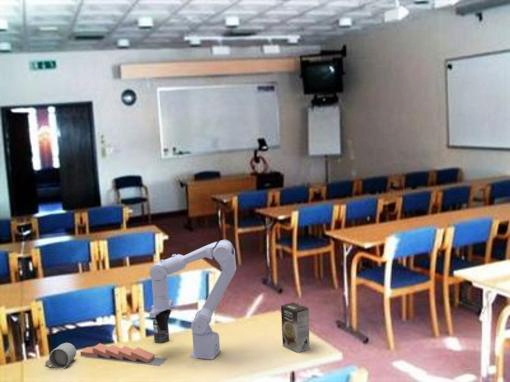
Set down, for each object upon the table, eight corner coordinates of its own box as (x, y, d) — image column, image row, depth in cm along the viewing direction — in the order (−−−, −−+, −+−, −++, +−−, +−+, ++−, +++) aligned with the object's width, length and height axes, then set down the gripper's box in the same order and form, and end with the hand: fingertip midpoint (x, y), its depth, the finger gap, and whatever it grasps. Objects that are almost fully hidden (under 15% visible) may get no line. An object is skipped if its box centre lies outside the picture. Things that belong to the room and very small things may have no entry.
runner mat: (168, 359, 214) (167, 358, 214) (159, 366, 208) (159, 365, 208) (94, 351, 225) (94, 350, 225) (84, 358, 219) (84, 357, 219)
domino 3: (129, 351, 218) (112, 344, 220) (122, 356, 214) (105, 349, 216) (128, 355, 218) (111, 348, 220) (122, 360, 214) (105, 353, 216)
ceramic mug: (78, 359, 218) (76, 339, 217) (69, 369, 210) (67, 348, 209) (51, 360, 219) (49, 340, 218) (41, 369, 211) (39, 349, 210)
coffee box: (281, 346, 220) (280, 305, 218) (294, 341, 224) (293, 301, 222) (297, 353, 213) (295, 311, 211) (310, 348, 217) (309, 307, 215)
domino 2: (116, 350, 220) (99, 343, 222) (109, 355, 216) (93, 347, 218) (115, 354, 220) (99, 346, 222) (108, 358, 216) (92, 351, 218)
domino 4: (142, 353, 216) (125, 345, 218) (135, 358, 212) (118, 350, 214) (141, 357, 216) (124, 349, 218) (135, 361, 212) (117, 354, 214)
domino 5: (155, 354, 214) (137, 347, 216) (148, 359, 210) (131, 351, 212) (154, 358, 214) (137, 350, 217) (148, 363, 210) (130, 355, 213)
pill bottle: (171, 338, 234) (169, 311, 233) (167, 344, 228) (165, 316, 227) (156, 338, 235) (154, 311, 233) (152, 344, 229) (150, 316, 228)
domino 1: (103, 348, 222) (87, 347, 224) (97, 353, 218) (80, 351, 220) (104, 352, 222) (87, 351, 224) (97, 357, 218) (80, 355, 220)
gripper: (160, 288, 223) (163, 322, 224) (141, 300, 209) (143, 336, 211) (177, 289, 220) (179, 323, 222) (158, 301, 207) (161, 337, 209)
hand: (163, 329), depth 216 cm, fingers closed
